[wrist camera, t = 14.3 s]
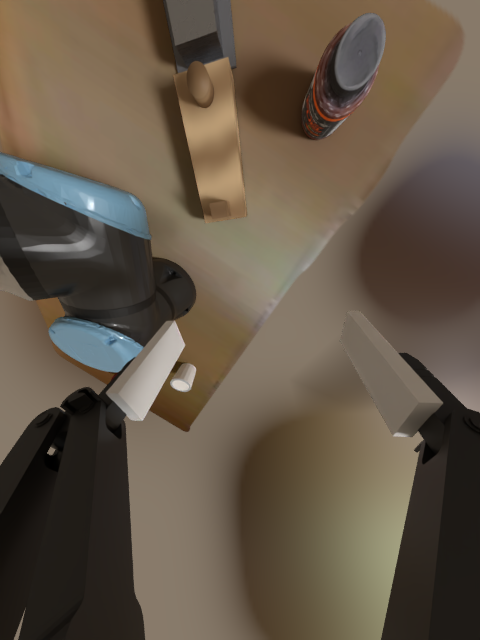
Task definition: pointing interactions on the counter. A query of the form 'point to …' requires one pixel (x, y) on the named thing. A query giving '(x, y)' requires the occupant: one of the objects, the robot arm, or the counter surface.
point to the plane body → (213, 137)
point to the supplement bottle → (343, 75)
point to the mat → (226, 35)
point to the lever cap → (196, 29)
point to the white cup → (183, 377)
